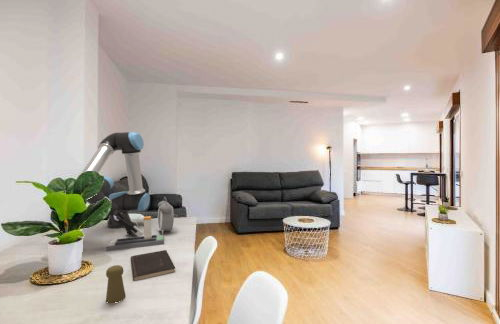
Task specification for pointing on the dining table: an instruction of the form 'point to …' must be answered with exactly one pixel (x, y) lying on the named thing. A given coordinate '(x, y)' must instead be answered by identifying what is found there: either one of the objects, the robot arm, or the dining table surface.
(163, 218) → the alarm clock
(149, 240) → the panel
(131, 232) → the electrical switch
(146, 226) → the breaker handle
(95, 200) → the robot arm
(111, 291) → the cork
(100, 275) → the dining table surface
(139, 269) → the hardcover book
